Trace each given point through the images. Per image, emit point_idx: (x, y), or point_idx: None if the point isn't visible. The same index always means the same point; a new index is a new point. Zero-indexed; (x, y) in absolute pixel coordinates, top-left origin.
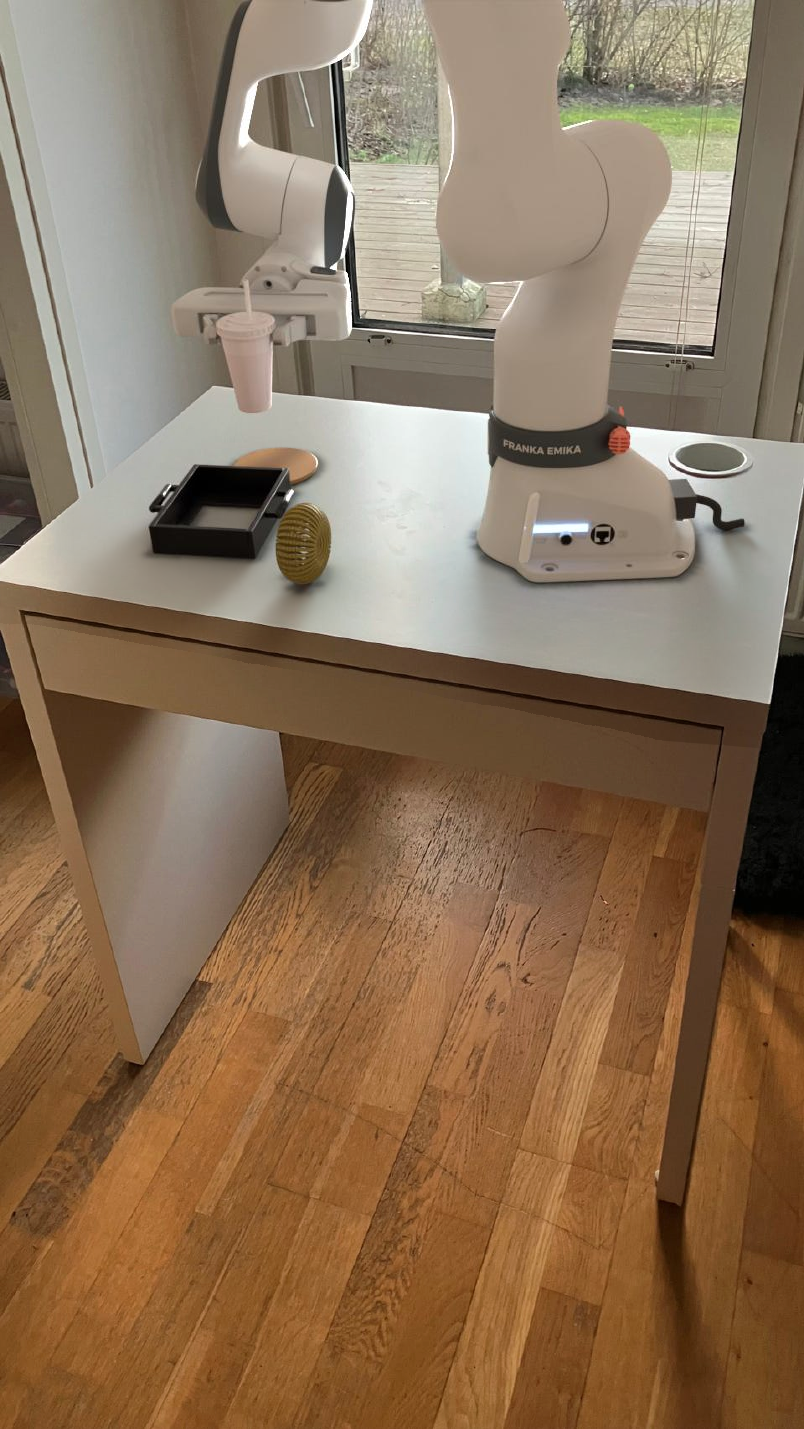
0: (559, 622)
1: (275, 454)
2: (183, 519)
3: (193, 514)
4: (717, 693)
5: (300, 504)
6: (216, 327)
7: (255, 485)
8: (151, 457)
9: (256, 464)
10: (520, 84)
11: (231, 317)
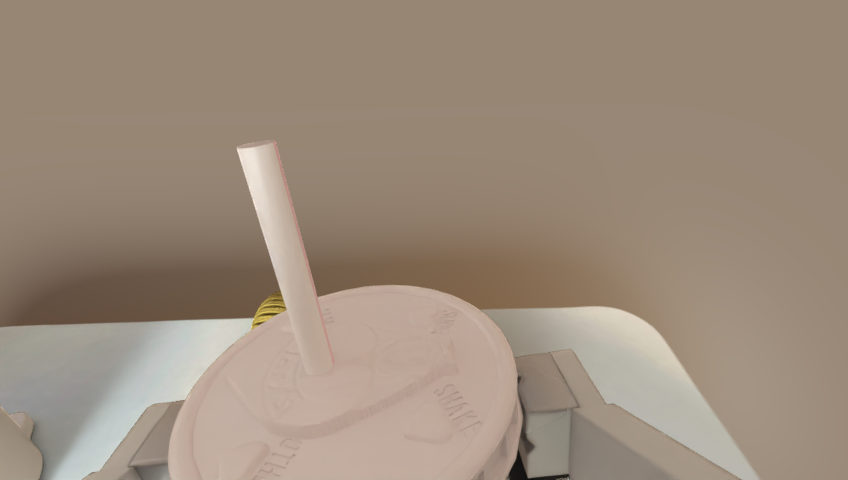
0: (58, 369)
1: None
2: (517, 451)
3: (511, 471)
4: (7, 327)
5: (276, 303)
6: (520, 373)
7: None
8: None
9: None
10: None
11: (458, 409)
